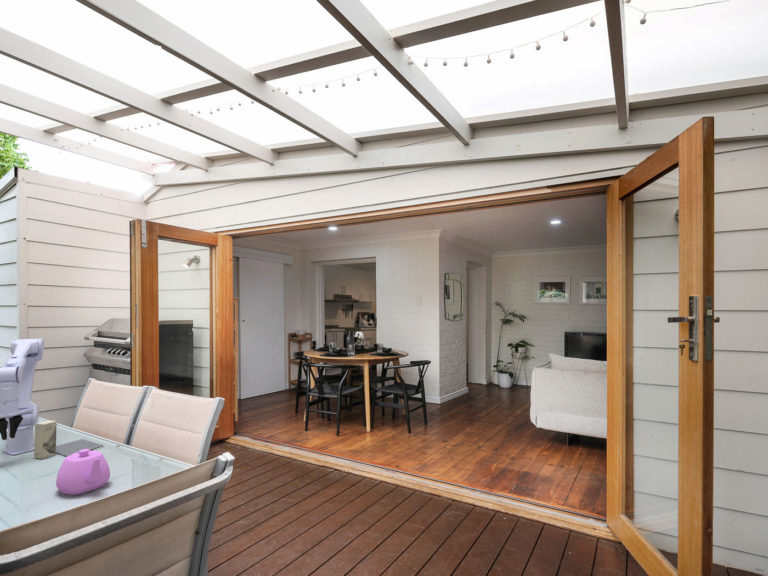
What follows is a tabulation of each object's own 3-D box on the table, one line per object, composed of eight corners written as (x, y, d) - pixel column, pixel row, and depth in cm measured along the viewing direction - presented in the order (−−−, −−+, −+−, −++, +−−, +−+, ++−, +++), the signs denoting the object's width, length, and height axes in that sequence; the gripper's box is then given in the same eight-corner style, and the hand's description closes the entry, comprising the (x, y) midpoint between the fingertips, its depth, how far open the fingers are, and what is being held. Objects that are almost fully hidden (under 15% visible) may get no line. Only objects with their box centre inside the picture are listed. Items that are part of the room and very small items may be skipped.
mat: (45, 450, 166) (45, 448, 166) (82, 440, 178) (82, 439, 178) (67, 457, 158) (67, 456, 158) (104, 446, 169) (104, 445, 169)
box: (43, 459, 156) (43, 424, 156) (33, 458, 157) (34, 423, 157) (56, 454, 161) (57, 420, 162) (47, 453, 162) (47, 419, 163)
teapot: (46, 489, 131) (46, 451, 131) (94, 474, 142) (95, 439, 143) (73, 506, 120) (74, 464, 120) (124, 488, 131) (124, 450, 131)
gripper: (-13, 406, 143) (-14, 446, 143) (38, 397, 156) (37, 434, 156) (-22, 403, 147) (-23, 443, 146) (29, 395, 159) (29, 431, 159)
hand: (8, 438), depth 151 cm, fingers closed
